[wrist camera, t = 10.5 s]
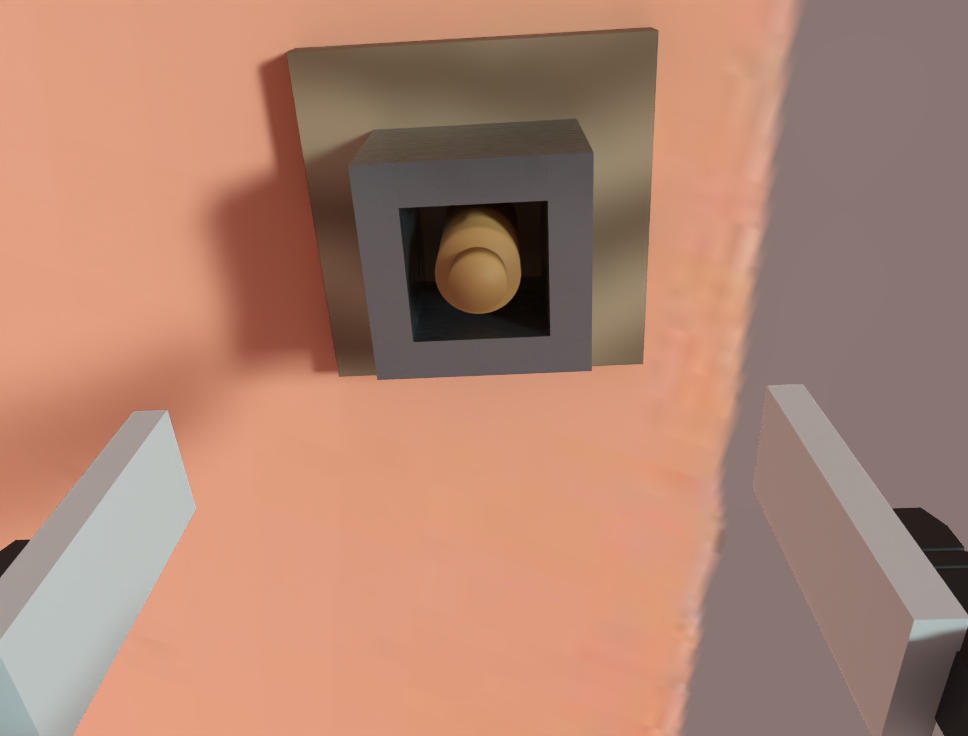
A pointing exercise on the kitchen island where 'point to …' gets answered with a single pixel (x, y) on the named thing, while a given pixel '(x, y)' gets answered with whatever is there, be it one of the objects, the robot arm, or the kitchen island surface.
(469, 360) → the hollow square block
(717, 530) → the kitchen island surface
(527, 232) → the square plate
